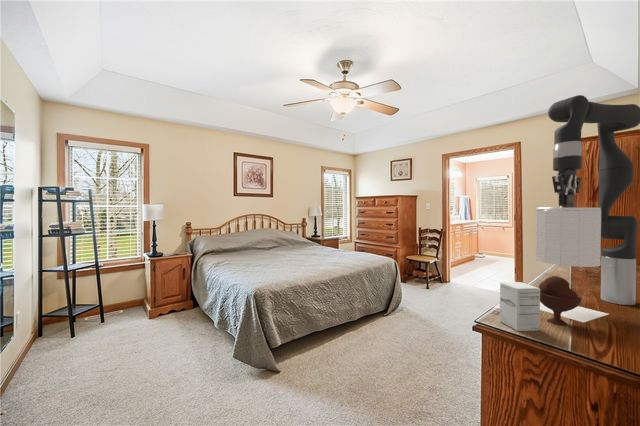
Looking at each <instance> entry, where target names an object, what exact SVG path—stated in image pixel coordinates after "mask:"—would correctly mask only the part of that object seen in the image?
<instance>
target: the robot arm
mask: <svg viewBox="0 0 640 426" xmlns="http://www.w3.org/2000/svg"><path fill="white" fill-rule="evenodd" d="M547 114H548V118H549V119H550V120H551V121H553V122H555V123H564V125H561V126H559V127H558V128H556V129H555V131H554V145H553V153H552V156H553V157H552V158H553V159H552V170H553V171H554V172H557V174H556V175H552V178H551V179H552V186H553V191H554V193H555V194H556V195H558V207H559V206H567V198H568V195H569V194H573V195H574V200H575V199H576V197H575V196H576V195H577V194H578V193H580V192H579V191H580V186H581V183H582V181H581V180H582V177H581V176H579V177H578V176H577V172H576V171H578V170H581V169H582V168H583V165H582V164H583V146H582V128H583V125H584V124H596V125H597V134H598V135H597V136H598V147H599V160H598V161H599V163H598V206H597V208H601V239H603V240H604V239H605V240H621V241H623V242H622V243H621V244H619V245H615V246H611V247H605V248H602V249H601V255H600V268H601V269H600V270H601V271H600V299H601V300H602V301H604V302H608V303H612V304H616V305H624V306H635V305H636V293H637V291H636V290H637V289H636V285H637V241H638V239H637V237H638V230H639V225H638V222H639V221H638V219H637V218H636V216H632V215H610V212H611V209H612V207H613V205H614V204H615V203H616V201H617V200H618V199H619V198H620V197H621V196H622V194H624V192H625V191H626V190H627V189H629V187H630V186H631V185H632V183H633V180H634V164H633V161H632V160H631V159H630V158H629V157H628V155H627V154H626V153H625V152H624V151H622V149H621V148H620V147H619V146H618V144H617V142H616V139H615V133H616V132H617V133H618V132H620V131H626V130H631V129H633V128H636V127H637V126H639V125H640V106H639V105H637V104H633V103H630V104H629V103H627V104H605V103H600V102H599V103H598V102H593V101H589V100H588V98H587V97H586V96H585V95H582V94H577V95H575V96H571V97H568V98H566V99H561V100H558V101H557V102H554V103H552V104H551V105H550V106H549V107H548V111H547Z"/></svg>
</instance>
